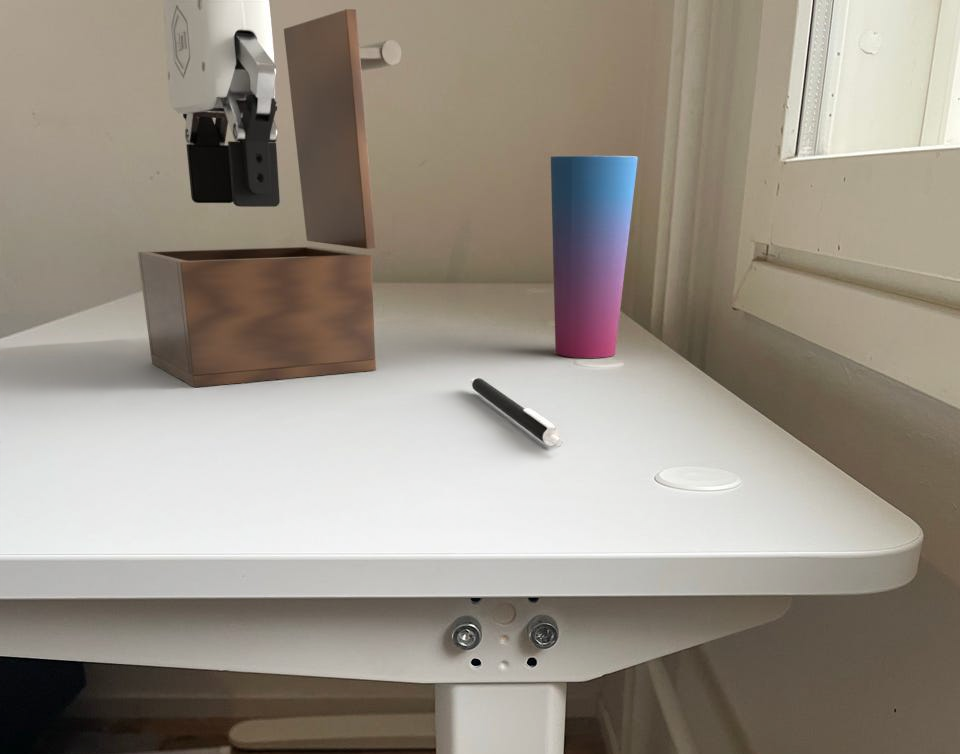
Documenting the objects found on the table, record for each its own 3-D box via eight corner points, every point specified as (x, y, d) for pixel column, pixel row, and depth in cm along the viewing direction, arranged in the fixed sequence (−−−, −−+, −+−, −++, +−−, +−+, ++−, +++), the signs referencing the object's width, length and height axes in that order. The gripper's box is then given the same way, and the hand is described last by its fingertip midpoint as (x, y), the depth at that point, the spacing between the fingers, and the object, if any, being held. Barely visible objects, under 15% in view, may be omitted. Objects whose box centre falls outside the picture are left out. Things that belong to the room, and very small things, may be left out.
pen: (550, 451, 54) (551, 430, 54) (465, 386, 71) (466, 370, 71) (566, 450, 55) (567, 429, 54) (478, 386, 71) (478, 370, 71)
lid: (345, 9, 68) (417, 10, 70) (283, 28, 77) (348, 29, 79) (366, 248, 74) (431, 242, 77) (306, 240, 84) (366, 235, 86)
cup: (571, 344, 90) (578, 157, 84) (640, 352, 87) (653, 157, 80) (529, 354, 85) (534, 156, 79) (600, 362, 82) (611, 155, 75)
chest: (194, 387, 72) (180, 262, 68) (151, 363, 81) (137, 251, 77) (376, 370, 78) (371, 255, 75) (317, 350, 87) (311, 246, 84)
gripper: (122, -62, 72) (151, 201, 79) (193, -115, 59) (220, 208, 66) (225, -49, 76) (244, 201, 83) (315, -97, 62) (328, 208, 69)
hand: (234, 204), depth 74 cm, fingers open, 9 cm apart
